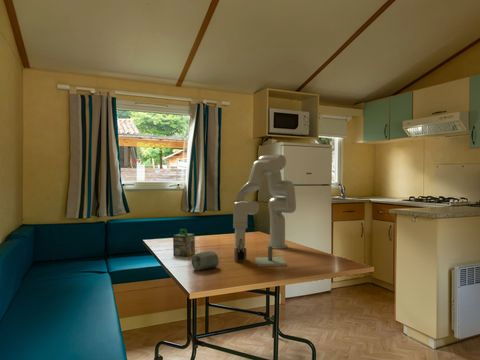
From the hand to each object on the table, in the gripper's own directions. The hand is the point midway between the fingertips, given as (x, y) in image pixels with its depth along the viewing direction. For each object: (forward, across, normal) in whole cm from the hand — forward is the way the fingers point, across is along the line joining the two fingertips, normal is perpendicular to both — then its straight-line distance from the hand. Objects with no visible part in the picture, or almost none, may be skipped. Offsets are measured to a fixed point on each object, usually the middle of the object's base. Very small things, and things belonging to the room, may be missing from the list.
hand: (240, 257), depth 181 cm
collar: (+2, 0, 0) cm, 2 cm away
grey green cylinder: (+2, +16, -18) cm, 24 cm away
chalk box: (+2, -16, -31) cm, 35 cm away
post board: (+2, +6, +15) cm, 16 cm away
